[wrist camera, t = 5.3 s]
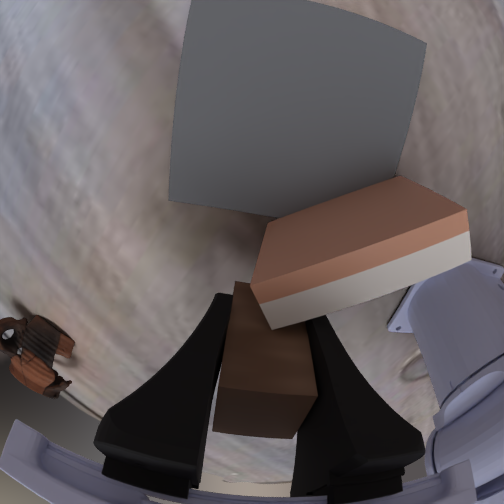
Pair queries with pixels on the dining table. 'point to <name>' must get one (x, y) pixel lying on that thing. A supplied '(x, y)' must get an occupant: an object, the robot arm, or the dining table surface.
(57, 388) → the pottery mug
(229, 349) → the walnut block
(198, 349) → the robot arm
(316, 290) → the whetstone
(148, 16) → the dining table surface
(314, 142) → the mat
